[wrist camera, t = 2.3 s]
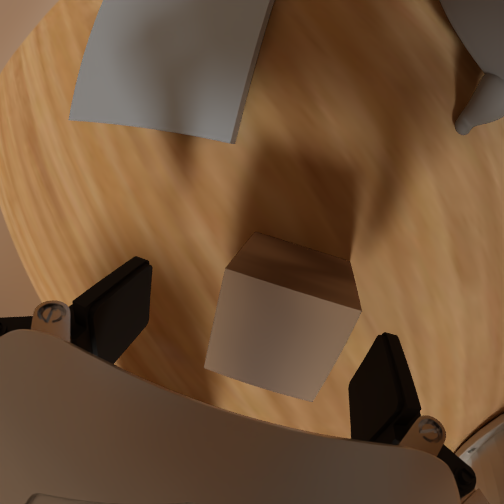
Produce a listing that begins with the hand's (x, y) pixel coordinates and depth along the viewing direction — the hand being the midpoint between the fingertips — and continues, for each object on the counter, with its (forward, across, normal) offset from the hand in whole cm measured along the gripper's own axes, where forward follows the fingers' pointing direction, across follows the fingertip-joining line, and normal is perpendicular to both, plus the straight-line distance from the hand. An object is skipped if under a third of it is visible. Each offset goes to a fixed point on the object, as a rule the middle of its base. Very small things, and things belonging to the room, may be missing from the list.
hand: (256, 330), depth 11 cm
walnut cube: (+5, -1, 0) cm, 5 cm away
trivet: (+5, +9, -12) cm, 16 cm away
